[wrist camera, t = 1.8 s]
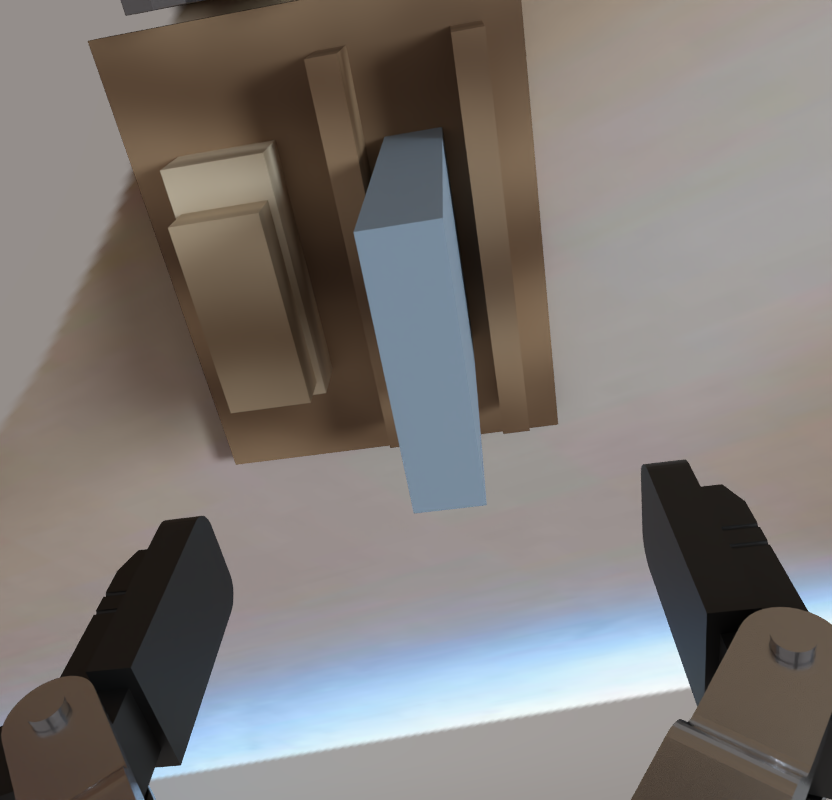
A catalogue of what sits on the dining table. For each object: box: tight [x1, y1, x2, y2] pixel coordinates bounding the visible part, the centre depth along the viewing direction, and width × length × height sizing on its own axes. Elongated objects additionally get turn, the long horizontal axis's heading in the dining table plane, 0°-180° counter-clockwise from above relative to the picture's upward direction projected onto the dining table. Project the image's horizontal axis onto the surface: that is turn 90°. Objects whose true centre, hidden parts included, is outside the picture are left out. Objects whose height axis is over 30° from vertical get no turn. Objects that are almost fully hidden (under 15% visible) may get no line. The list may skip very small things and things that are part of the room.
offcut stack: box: [160, 140, 333, 413], centre depth 27 cm, size 9×4×4 cm, turn 10°
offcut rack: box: [88, 0, 558, 465], centre depth 27 cm, size 17×14×4 cm
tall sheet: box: [354, 127, 487, 513], centre depth 23 cm, size 8×2×10 cm, turn 10°
